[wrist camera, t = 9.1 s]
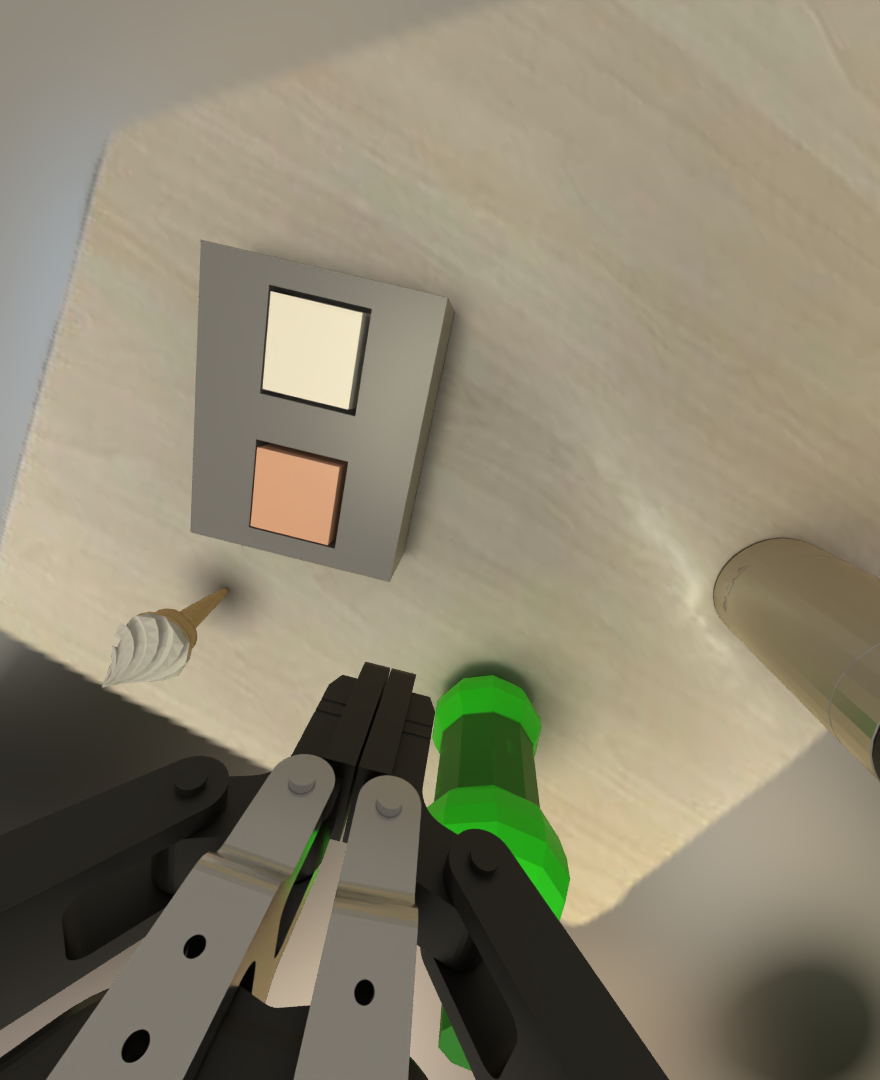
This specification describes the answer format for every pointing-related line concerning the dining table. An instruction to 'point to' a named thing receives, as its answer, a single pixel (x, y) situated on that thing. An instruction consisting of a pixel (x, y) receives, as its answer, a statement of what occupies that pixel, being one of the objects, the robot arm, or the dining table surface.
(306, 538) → the terracotta key
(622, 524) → the dining table surface
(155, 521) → the dining table surface
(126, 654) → the ice cream cone
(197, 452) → the block
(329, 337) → the white key
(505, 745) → the plastic bottle
